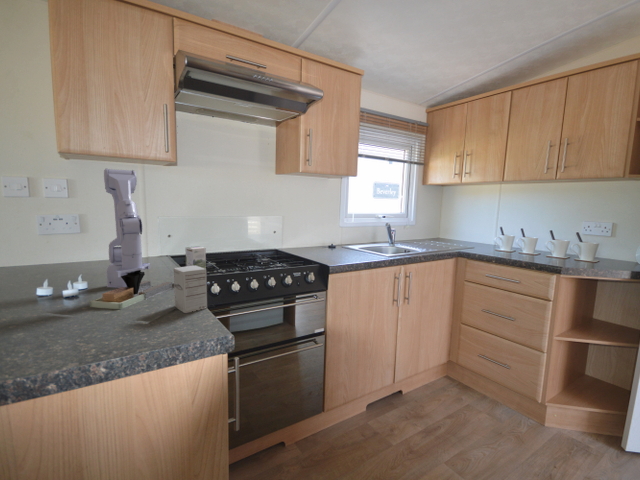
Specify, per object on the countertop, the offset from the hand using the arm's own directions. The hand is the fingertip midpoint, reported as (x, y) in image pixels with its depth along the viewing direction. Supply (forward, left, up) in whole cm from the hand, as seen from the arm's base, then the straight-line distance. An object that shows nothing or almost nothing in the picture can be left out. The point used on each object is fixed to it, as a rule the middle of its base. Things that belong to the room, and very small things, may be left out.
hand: (133, 293), depth 108 cm
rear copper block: (0, -5, -1) cm, 5 cm away
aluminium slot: (0, +5, -2) cm, 6 cm away
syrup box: (+8, +25, -2) cm, 26 cm away
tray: (0, -7, -2) cm, 7 cm away
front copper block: (0, -9, -1) cm, 9 cm away
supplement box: (+24, -5, -2) cm, 25 cm away
